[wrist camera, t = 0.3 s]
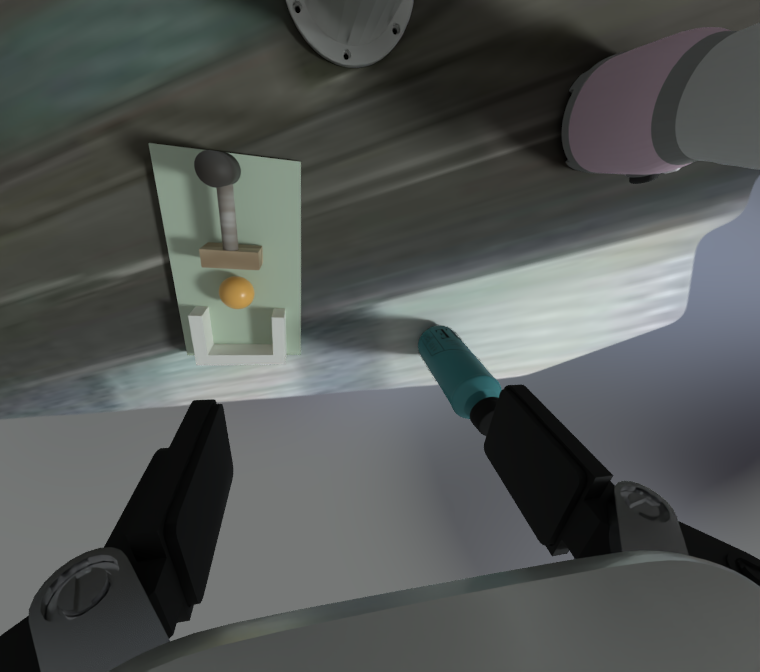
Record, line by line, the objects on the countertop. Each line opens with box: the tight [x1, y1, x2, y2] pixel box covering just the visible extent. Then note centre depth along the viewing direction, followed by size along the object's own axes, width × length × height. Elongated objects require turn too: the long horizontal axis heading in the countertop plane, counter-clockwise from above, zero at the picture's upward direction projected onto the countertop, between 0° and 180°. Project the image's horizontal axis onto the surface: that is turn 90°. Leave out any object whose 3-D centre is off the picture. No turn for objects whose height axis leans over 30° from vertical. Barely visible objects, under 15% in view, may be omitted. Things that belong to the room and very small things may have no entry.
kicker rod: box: [194, 150, 263, 270], centre depth 34 cm, size 12×6×7 cm, turn 174°
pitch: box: [148, 143, 301, 355], centre depth 40 cm, size 25×15×1 cm, turn 174°
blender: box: [562, 22, 760, 184], centre depth 28 cm, size 16×12×32 cm
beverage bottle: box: [418, 326, 502, 436], centre depth 43 cm, size 6×7×20 cm
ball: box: [219, 276, 255, 309], centre depth 39 cm, size 4×4×4 cm
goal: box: [188, 306, 287, 365], centre depth 42 cm, size 7×11×3 cm, turn 84°
